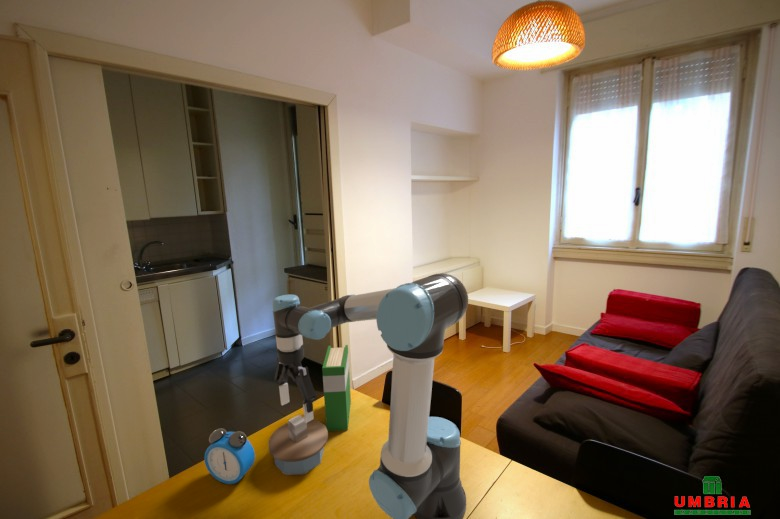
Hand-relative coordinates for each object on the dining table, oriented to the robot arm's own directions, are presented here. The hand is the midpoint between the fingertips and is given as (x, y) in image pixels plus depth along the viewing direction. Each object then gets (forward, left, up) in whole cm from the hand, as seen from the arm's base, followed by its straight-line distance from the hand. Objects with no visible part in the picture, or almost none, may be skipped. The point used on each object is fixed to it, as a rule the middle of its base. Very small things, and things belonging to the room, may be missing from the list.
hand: (296, 411), depth 112 cm
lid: (0, 0, -10) cm, 10 cm away
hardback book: (+8, -22, -16) cm, 29 cm away
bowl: (0, 0, -16) cm, 16 cm away
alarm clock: (+8, +18, -16) cm, 26 cm away
